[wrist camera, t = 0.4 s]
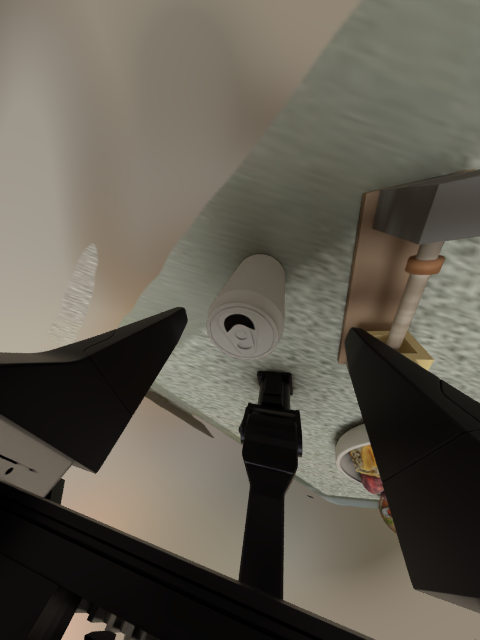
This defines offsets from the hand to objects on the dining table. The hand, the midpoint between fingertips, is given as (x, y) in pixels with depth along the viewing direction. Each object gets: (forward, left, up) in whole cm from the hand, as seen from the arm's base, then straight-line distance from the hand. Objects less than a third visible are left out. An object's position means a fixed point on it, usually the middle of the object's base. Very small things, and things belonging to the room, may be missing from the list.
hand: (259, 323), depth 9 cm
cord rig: (-7, -12, -14) cm, 20 cm away
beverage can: (-3, +2, -14) cm, 15 cm away
